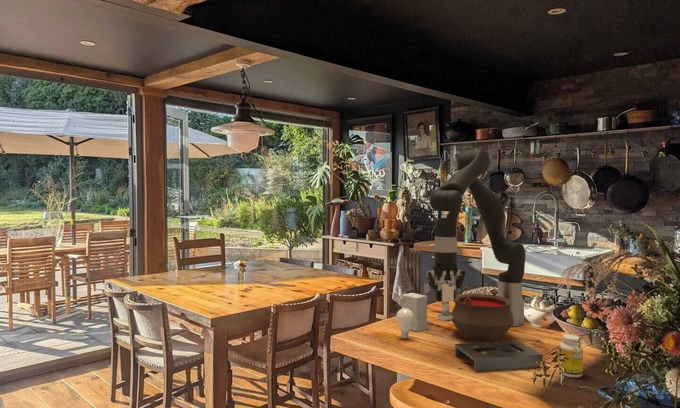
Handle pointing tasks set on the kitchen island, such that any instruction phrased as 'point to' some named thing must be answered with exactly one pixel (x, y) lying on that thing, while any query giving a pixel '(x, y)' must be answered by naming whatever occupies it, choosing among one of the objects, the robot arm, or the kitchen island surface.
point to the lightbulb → (405, 321)
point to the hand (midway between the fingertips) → (445, 300)
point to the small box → (416, 310)
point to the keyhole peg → (446, 302)
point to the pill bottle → (571, 356)
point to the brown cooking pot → (482, 316)
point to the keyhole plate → (499, 355)
